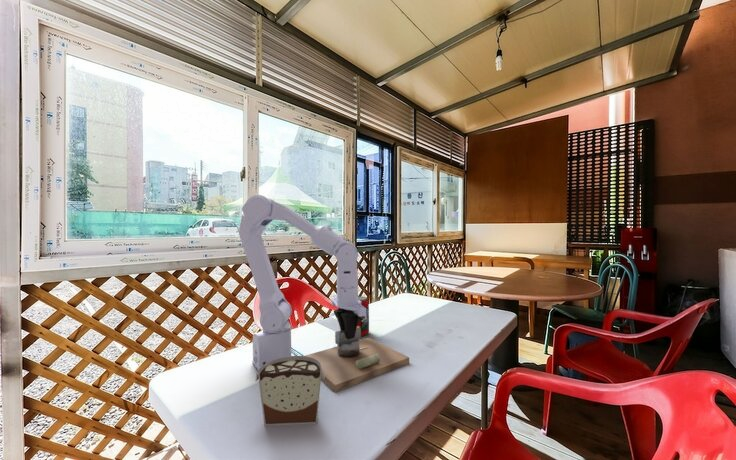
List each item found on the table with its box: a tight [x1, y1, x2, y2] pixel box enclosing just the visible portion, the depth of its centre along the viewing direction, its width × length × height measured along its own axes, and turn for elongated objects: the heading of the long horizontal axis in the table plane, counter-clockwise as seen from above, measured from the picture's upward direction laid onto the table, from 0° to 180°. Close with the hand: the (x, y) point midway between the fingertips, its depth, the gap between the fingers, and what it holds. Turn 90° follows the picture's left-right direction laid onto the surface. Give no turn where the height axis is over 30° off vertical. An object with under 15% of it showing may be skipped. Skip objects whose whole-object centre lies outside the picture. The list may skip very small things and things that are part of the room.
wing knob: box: [334, 326, 362, 357], centre depth 79 cm, size 7×6×6 cm
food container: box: [254, 355, 325, 427], centre depth 55 cm, size 12×6×10 cm, turn 92°
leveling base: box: [304, 337, 410, 393], centre depth 76 cm, size 22×18×4 cm
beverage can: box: [357, 295, 370, 337], centre depth 98 cm, size 7×7×12 cm
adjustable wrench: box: [291, 346, 305, 356], centre depth 86 cm, size 14×1×5 cm
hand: (348, 336), depth 79 cm, fingers closed on wing knob, 2 cm apart
